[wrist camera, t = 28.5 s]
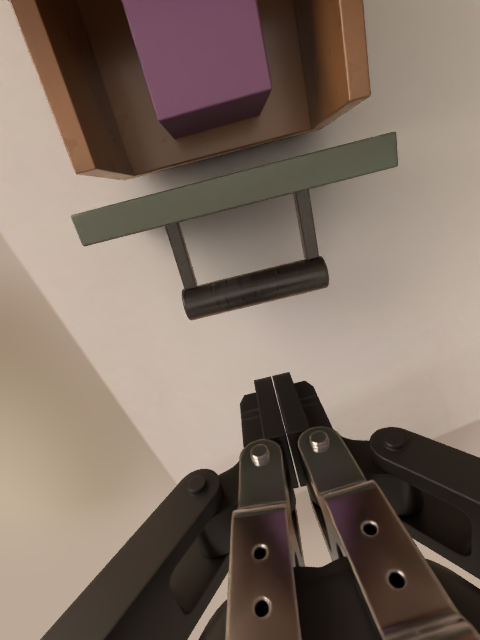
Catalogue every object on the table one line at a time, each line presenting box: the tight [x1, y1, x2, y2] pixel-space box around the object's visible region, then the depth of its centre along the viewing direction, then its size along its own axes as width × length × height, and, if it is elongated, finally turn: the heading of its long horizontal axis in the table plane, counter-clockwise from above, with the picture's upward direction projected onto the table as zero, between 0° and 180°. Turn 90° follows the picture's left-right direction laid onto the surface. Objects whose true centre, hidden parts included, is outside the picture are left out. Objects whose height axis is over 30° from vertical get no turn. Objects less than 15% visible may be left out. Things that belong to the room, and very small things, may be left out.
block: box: [122, 0, 272, 139], centre depth 14 cm, size 4×4×4 cm
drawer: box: [9, 0, 398, 320], centre depth 15 cm, size 17×12×7 cm
